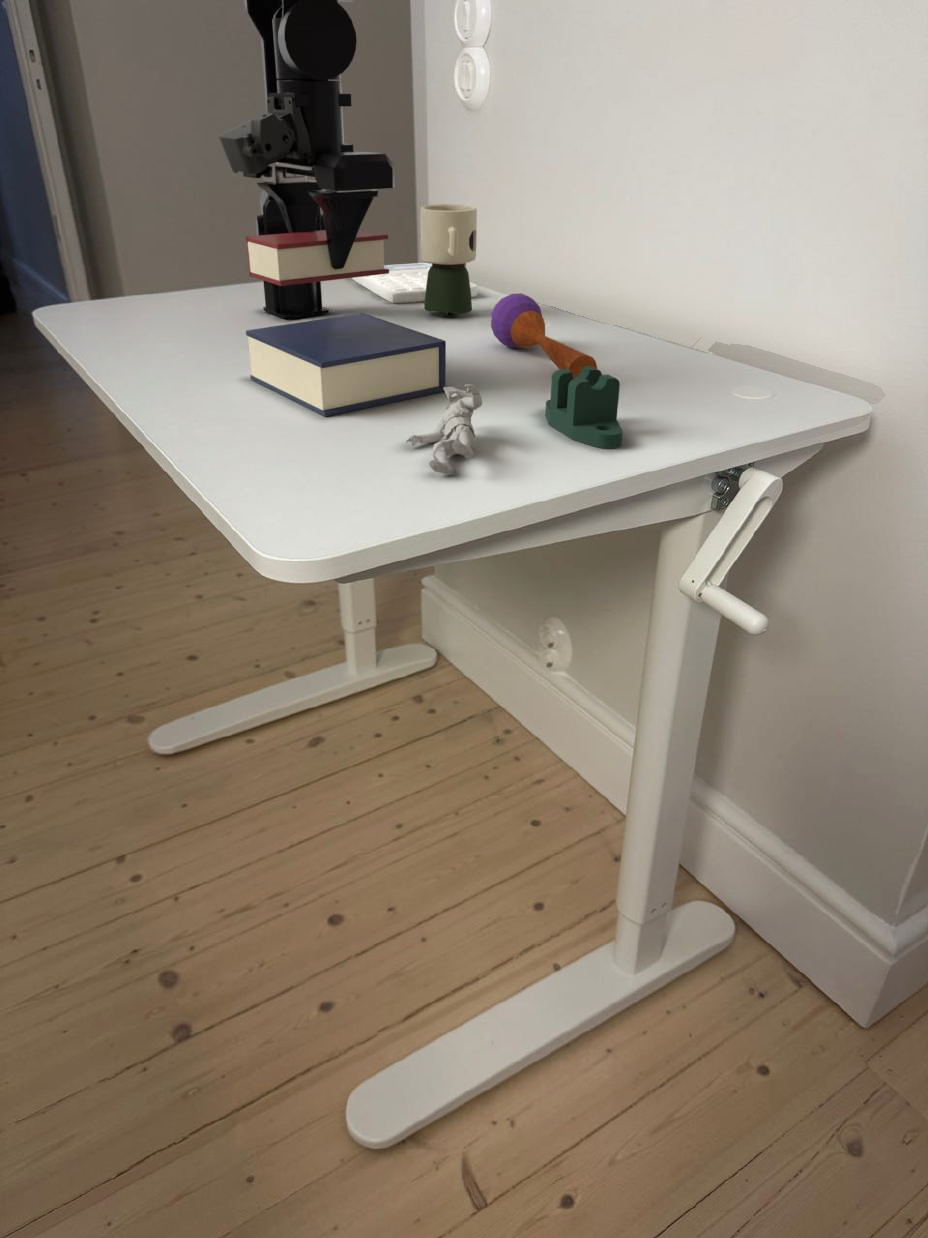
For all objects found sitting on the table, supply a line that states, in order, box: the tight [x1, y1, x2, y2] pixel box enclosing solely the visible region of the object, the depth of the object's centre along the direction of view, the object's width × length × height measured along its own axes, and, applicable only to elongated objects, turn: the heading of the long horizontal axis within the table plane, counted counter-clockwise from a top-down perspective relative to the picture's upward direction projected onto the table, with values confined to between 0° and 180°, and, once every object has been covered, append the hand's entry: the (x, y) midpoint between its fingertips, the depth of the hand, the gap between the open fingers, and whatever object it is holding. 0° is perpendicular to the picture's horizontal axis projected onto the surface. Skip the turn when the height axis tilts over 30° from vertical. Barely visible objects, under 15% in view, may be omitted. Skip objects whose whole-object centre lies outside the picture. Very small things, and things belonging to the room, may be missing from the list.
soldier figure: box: [405, 383, 483, 476], centre depth 80 cm, size 8×5×12 cm
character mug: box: [419, 203, 478, 317], centre depth 122 cm, size 11×7×13 cm, turn 8°
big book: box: [245, 312, 447, 417], centre depth 96 cm, size 14×15×5 cm
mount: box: [544, 366, 624, 450], centre depth 85 cm, size 11×4×5 cm, turn 24°
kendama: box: [490, 292, 598, 378], centre depth 104 cm, size 6×6×20 cm
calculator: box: [351, 262, 479, 304], centre depth 140 cm, size 13×20×2 cm, turn 23°
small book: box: [245, 228, 389, 286], centre depth 93 cm, size 12×6×4 cm, turn 127°
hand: (320, 263), depth 93 cm, fingers closed on small book, 6 cm apart
